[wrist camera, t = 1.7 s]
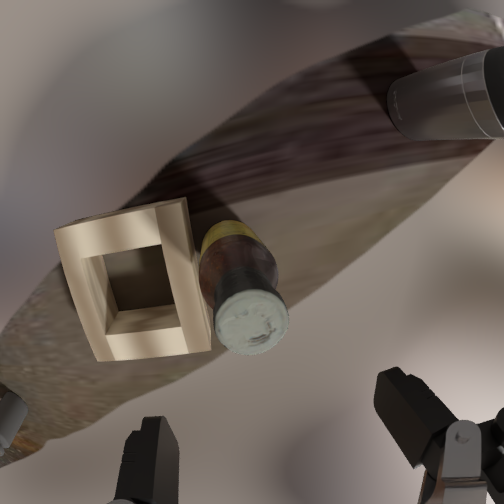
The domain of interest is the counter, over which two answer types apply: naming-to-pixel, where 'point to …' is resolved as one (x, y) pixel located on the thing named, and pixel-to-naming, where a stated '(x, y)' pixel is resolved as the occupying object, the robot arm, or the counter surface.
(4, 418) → the bottle
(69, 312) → the counter surface
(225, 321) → the sauce bottle
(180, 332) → the dock block
